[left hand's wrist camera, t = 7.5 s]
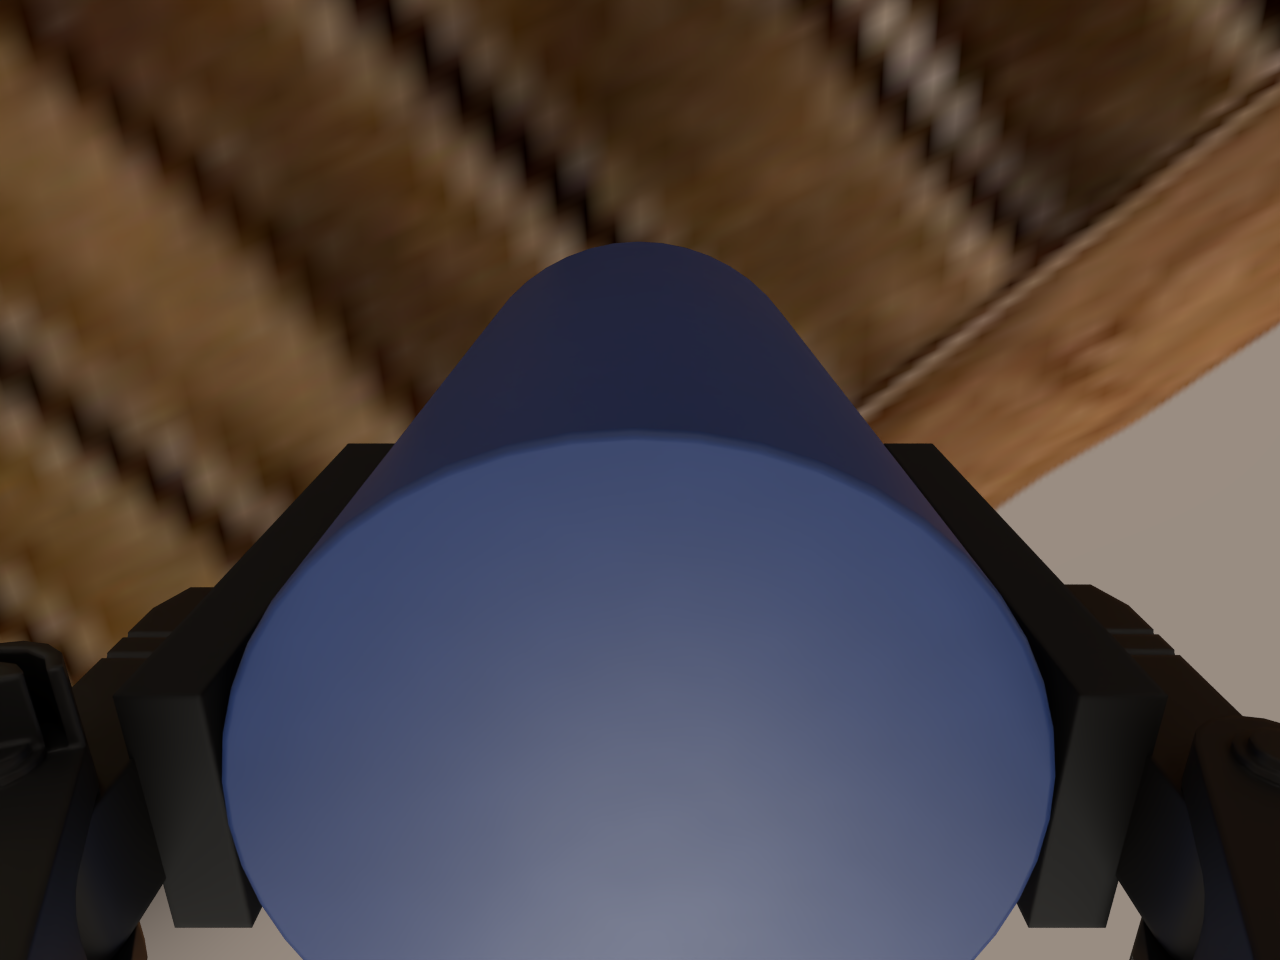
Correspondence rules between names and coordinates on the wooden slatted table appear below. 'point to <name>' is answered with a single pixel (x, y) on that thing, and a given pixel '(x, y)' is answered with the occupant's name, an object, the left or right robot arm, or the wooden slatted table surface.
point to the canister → (638, 663)
